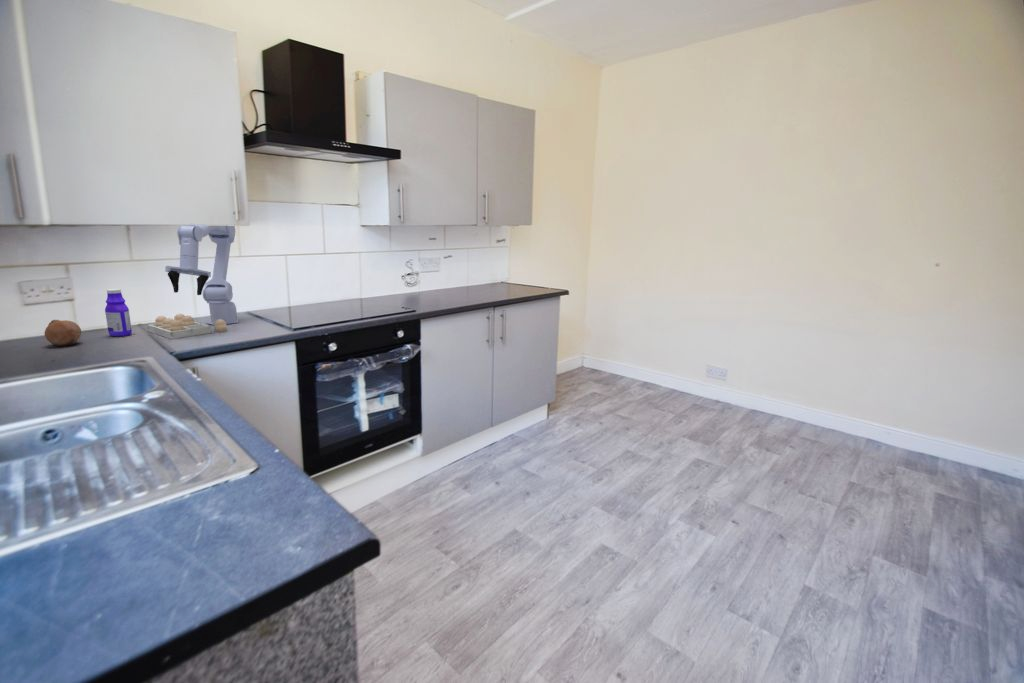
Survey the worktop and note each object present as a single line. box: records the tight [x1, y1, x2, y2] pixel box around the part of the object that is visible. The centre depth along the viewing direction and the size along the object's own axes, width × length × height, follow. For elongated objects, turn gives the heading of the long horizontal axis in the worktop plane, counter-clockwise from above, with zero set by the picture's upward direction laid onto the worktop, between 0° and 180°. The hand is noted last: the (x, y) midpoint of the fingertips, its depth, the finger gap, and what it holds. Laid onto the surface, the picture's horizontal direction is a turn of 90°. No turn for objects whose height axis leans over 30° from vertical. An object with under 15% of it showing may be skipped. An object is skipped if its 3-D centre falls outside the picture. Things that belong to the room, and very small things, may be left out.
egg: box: [213, 319, 228, 334], centre depth 198 cm, size 4×4×5 cm
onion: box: [44, 319, 82, 347], centre depth 173 cm, size 10×9×10 cm
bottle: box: [104, 288, 133, 337], centre depth 187 cm, size 7×6×17 cm
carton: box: [147, 313, 212, 340], centre depth 196 cm, size 14×21×6 cm
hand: (187, 293), depth 188 cm, fingers open, 7 cm apart
